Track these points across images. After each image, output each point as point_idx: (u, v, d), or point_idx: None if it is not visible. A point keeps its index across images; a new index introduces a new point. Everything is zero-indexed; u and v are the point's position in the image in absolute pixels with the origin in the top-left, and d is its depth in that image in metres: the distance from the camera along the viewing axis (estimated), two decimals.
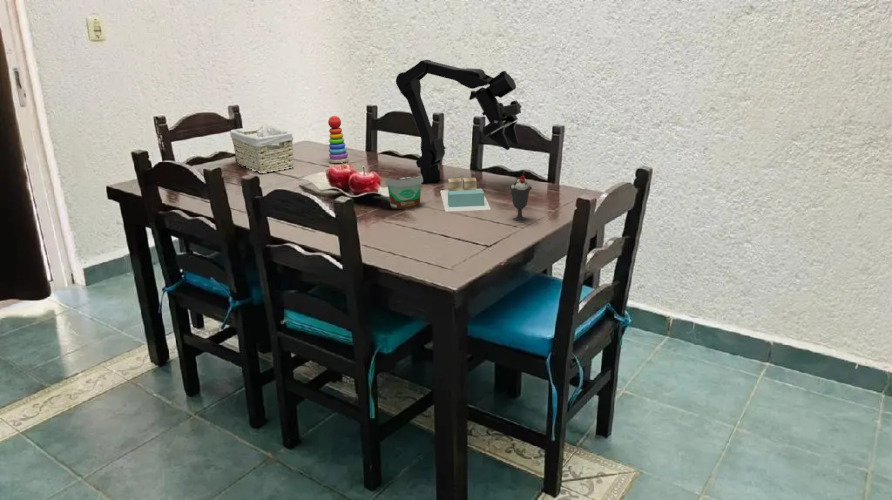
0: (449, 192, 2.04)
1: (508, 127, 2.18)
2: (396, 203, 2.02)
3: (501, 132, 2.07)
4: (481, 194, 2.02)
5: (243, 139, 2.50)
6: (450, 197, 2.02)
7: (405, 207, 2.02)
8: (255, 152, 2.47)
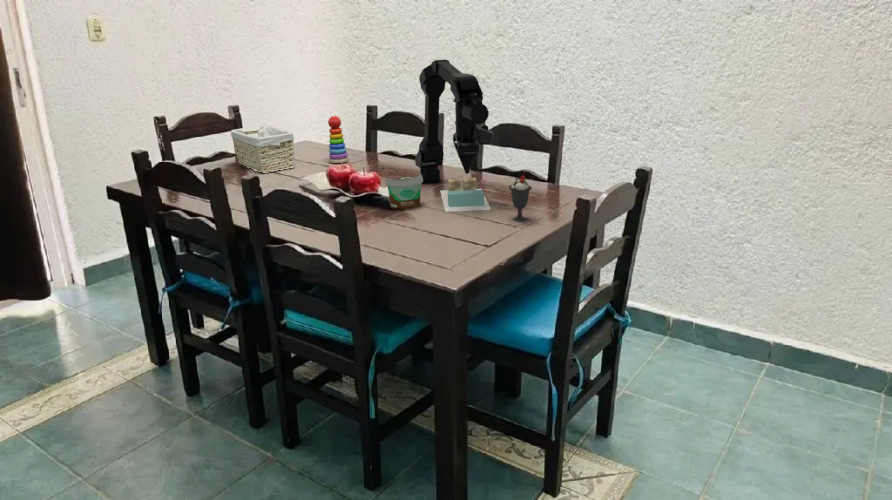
0: (449, 192, 2.04)
1: None
2: (396, 203, 2.02)
3: (472, 155, 1.93)
4: (481, 194, 2.02)
5: (244, 139, 2.51)
6: (450, 197, 2.02)
7: (405, 207, 2.02)
8: (256, 152, 2.48)
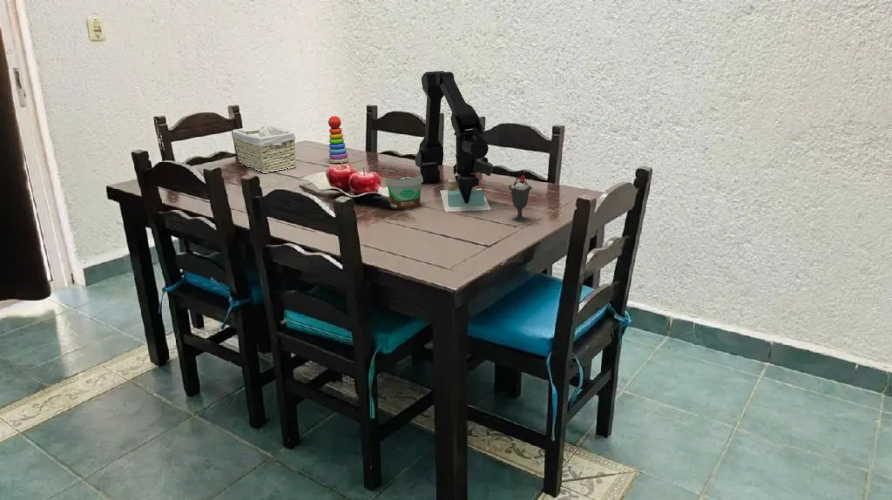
0: (449, 192, 2.04)
1: None
2: (396, 203, 2.02)
3: (471, 186, 1.99)
4: (481, 194, 2.02)
5: (245, 139, 2.51)
6: (450, 197, 2.02)
7: (405, 207, 2.02)
8: (257, 152, 2.48)
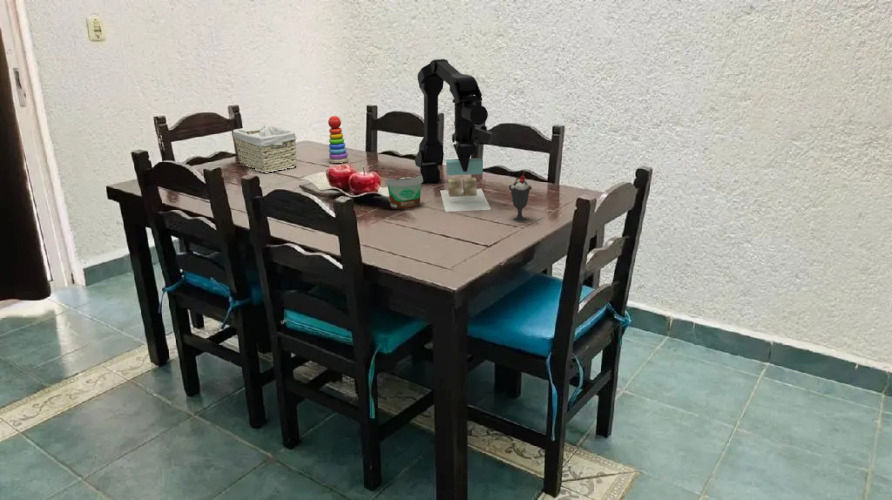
0: (448, 160, 2.03)
1: None
2: (396, 203, 2.02)
3: (470, 154, 1.98)
4: (480, 162, 2.01)
5: (246, 139, 2.51)
6: (448, 165, 2.00)
7: (405, 207, 2.02)
8: (258, 151, 2.48)
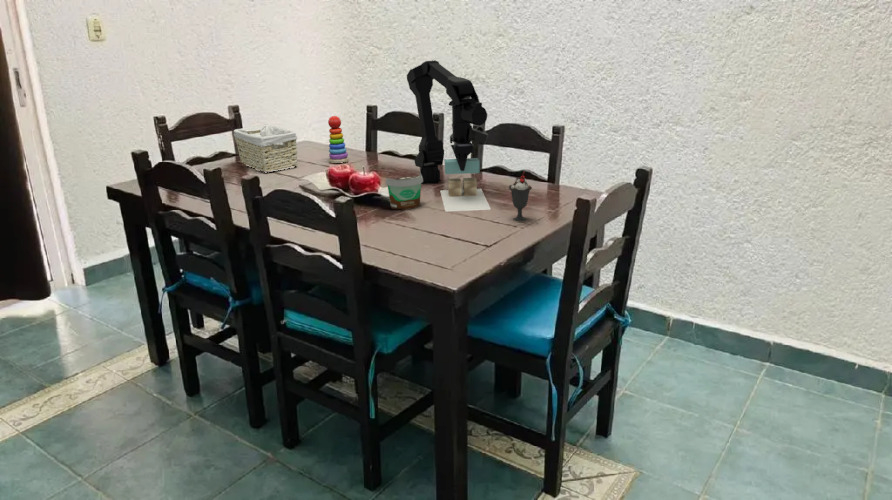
0: (446, 160, 2.12)
1: None
2: (396, 203, 2.02)
3: (467, 154, 2.07)
4: (476, 162, 2.10)
5: (247, 139, 2.51)
6: (447, 164, 2.10)
7: (405, 207, 2.02)
8: (259, 151, 2.48)
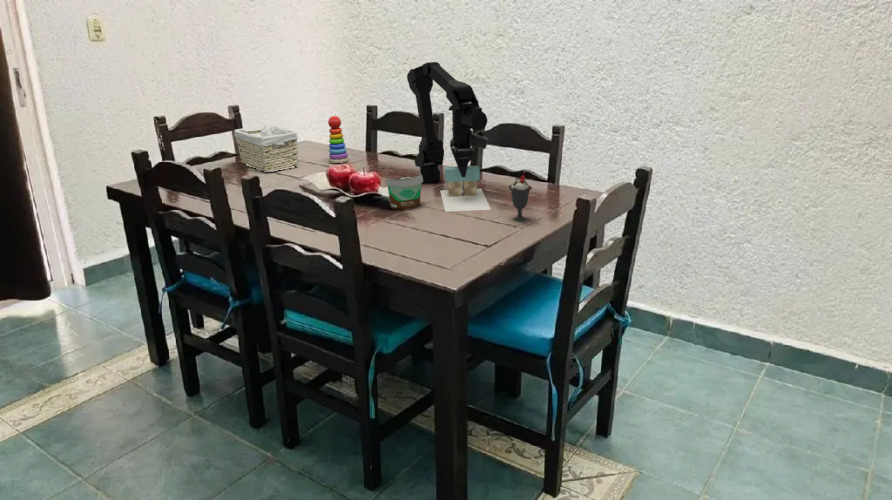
0: (446, 167, 2.13)
1: None
2: (396, 203, 2.02)
3: (468, 160, 2.05)
4: (477, 169, 2.11)
5: (248, 139, 2.51)
6: (447, 172, 2.11)
7: (405, 207, 2.02)
8: (260, 151, 2.48)
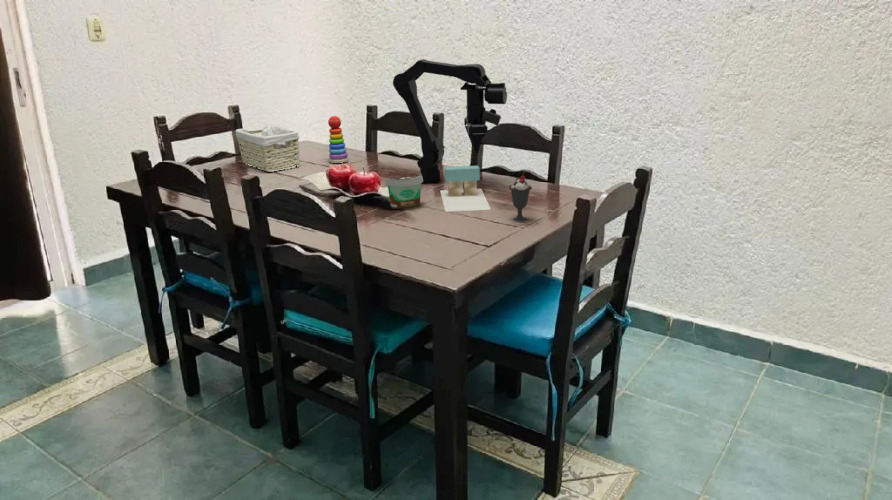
0: (446, 167, 2.13)
1: None
2: (396, 203, 2.02)
3: (481, 136, 2.15)
4: (477, 169, 2.11)
5: (249, 139, 2.52)
6: (447, 172, 2.11)
7: (405, 207, 2.02)
8: (261, 151, 2.49)
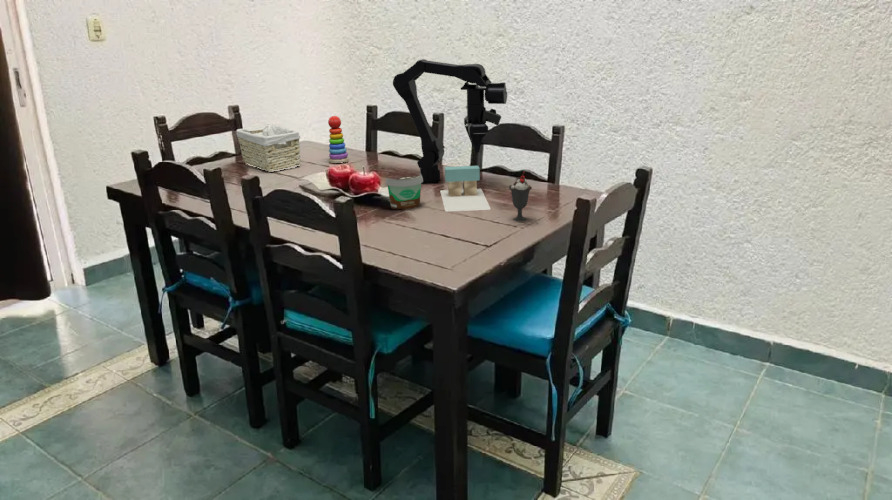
0: (446, 167, 2.13)
1: None
2: (396, 203, 2.02)
3: (482, 136, 2.15)
4: (477, 169, 2.11)
5: (250, 139, 2.52)
6: (447, 172, 2.11)
7: (405, 207, 2.02)
8: (262, 151, 2.49)
